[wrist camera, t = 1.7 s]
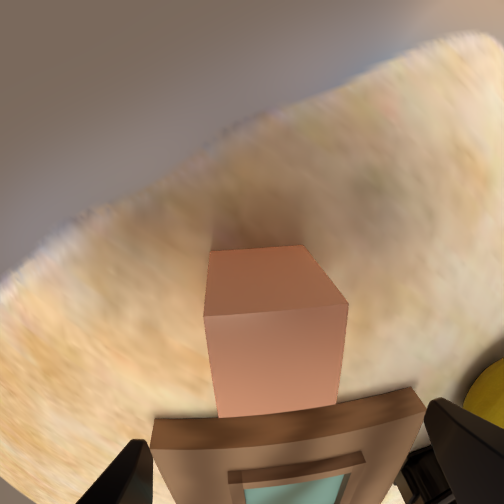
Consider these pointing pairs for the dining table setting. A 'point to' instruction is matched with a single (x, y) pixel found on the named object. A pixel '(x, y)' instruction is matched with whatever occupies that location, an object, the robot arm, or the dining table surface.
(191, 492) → the brown flat frame
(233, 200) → the dining table surface
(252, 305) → the terracotta block
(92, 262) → the dining table surface
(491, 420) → the lemon
